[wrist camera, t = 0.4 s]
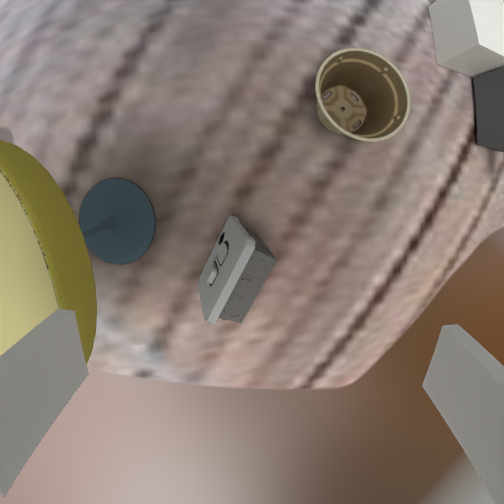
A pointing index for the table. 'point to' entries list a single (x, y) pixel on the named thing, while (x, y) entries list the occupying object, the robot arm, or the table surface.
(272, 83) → the table surface
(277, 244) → the table surface
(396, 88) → the flower pot
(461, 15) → the white rectangular block
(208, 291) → the electrical switch
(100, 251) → the cocktail glass
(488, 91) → the plug
